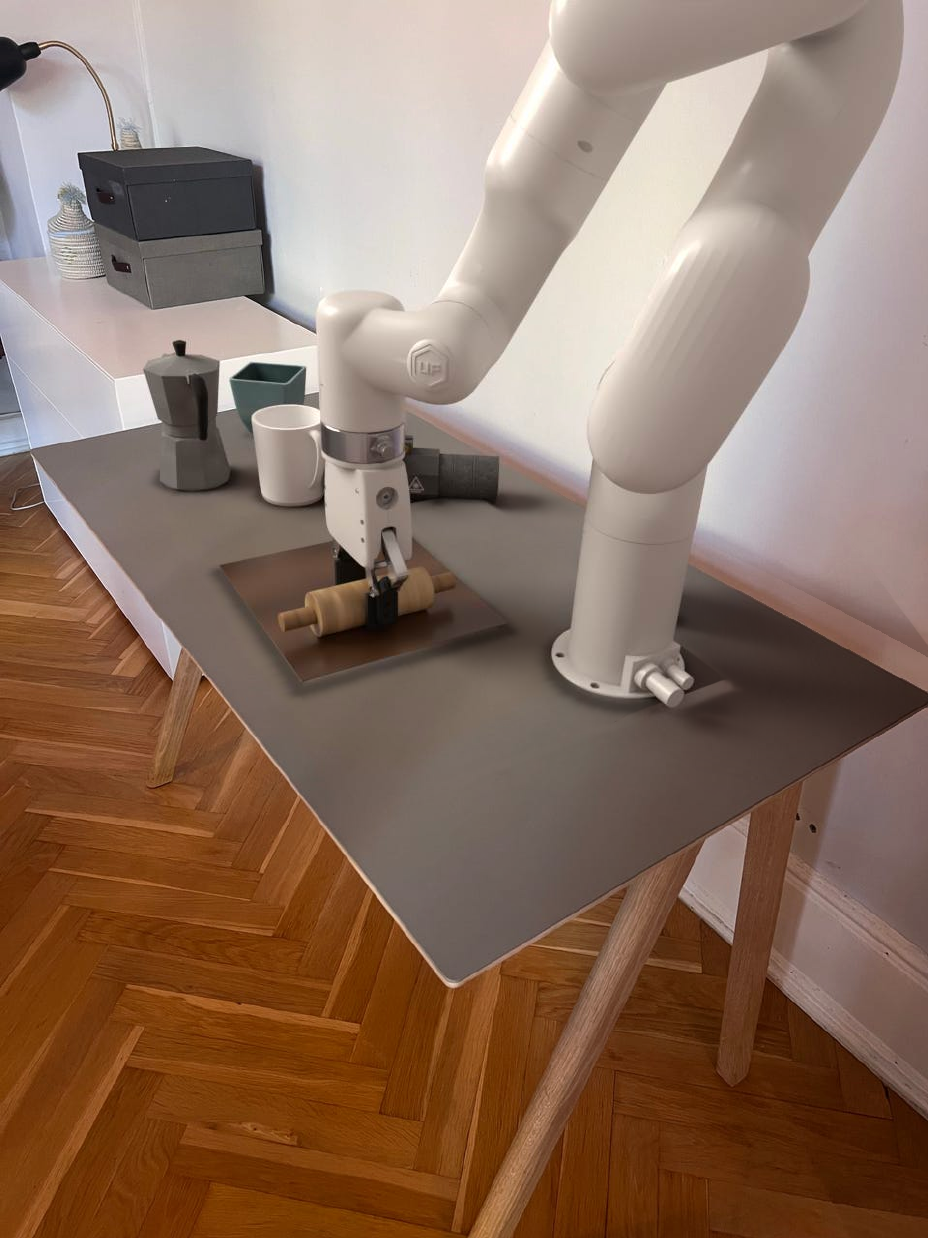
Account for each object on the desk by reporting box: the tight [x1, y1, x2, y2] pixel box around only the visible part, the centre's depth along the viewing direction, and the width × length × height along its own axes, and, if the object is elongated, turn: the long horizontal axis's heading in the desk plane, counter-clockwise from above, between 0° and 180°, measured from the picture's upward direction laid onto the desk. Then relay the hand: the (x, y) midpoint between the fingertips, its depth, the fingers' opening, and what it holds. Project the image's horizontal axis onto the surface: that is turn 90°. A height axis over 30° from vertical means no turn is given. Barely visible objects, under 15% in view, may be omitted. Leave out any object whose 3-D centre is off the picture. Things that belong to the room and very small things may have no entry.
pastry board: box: [218, 537, 508, 683], centre depth 95 cm, size 24×22×1 cm
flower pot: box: [228, 361, 307, 436], centre depth 133 cm, size 9×9×9 cm
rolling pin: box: [278, 566, 456, 637], centre depth 90 cm, size 4×18×4 cm, turn 120°
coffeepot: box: [142, 339, 231, 492], centre depth 115 cm, size 15×9×18 cm, turn 29°
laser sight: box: [324, 434, 500, 502], centre depth 116 cm, size 10×22×10 cm, turn 89°
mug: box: [252, 404, 326, 508], centre depth 114 cm, size 11×9×10 cm
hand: (366, 607), depth 91 cm, fingers open, 6 cm apart
